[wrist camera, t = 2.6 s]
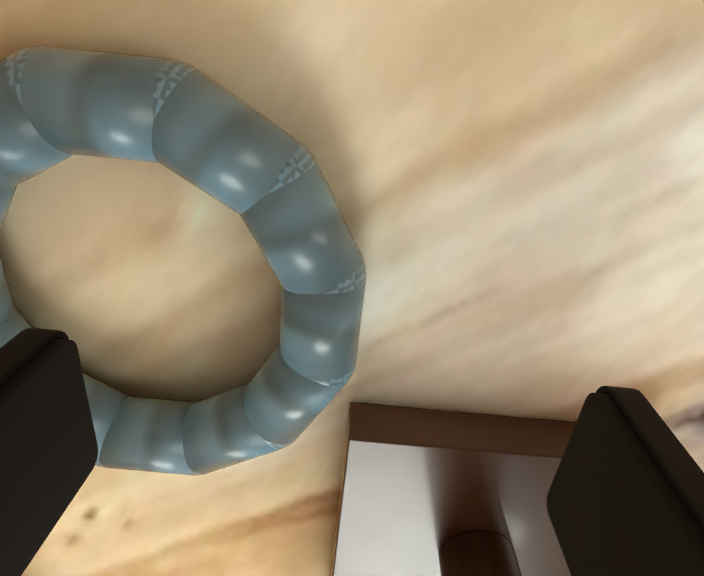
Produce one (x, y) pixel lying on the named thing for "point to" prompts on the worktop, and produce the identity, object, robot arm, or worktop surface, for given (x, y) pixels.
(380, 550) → the peg stand
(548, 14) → the worktop surface
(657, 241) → the worktop surface
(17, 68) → the ring
